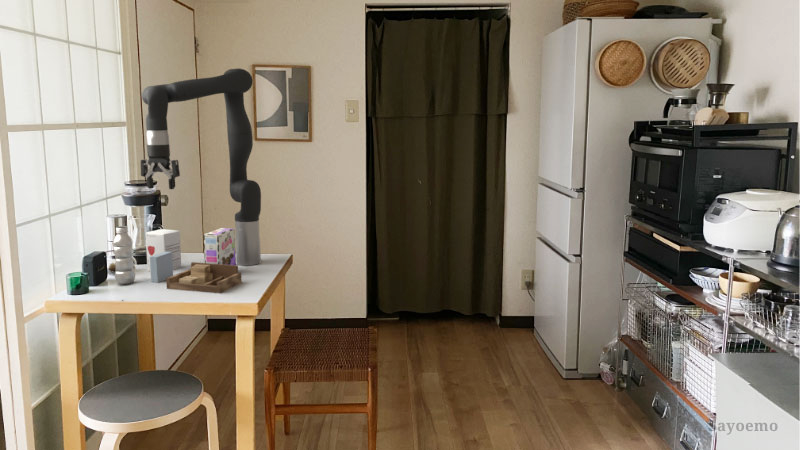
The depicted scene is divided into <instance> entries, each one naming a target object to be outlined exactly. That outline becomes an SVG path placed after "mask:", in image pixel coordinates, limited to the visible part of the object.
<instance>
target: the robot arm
mask: <svg viewBox="0 0 800 450" xmlns="http://www.w3.org/2000/svg"><path fill="white" fill-rule="evenodd" d="M253 81H254V80H253V76H252V75H251V73H250V72H249V71H247V70H246V69H243V68H231V69H228V70H226V71H225V72H224V73H223V74H221V75H217V76H212V77H202V78H193V79H192V78H191V79H185V80H180V81H175V82H171V83H166V84H165V83H164V84H156V85H149V86H147V87H145V88H144V89H143V90H142V92H141V100H142V102H143V103H144V104H145V105H147V109H148V110H147V114H146V116H145V127H146V129H145V130H146V136H145V137H146V151H147V157H148V159H146V158H145V159H141V160H140V176H141V177H143V178H145V179H146V186H147V188H148V189H149V190H152V189H154V178H153V176H154V174H156V173H157V172H158V173H164V174H165V175H166V177H168V189H169V190H175V188H176V178H178V177H180V176H181V175H180V174H181V171H180V166H179V165H180V164H179V160H178V159H173V160H171V157H170V156H171V150H170V149H171V147H170V136H169V130H168V109H169V104H170V103H180V102H187V101H191V100H196V99H201V98H204V97H208V96H214V95H219V94H223V97H224V101H225V114H226V116H225V117H226V127H227V130H226V131H227V143H228V152H229V153H228V156H229V195H230V197H231V199H232V200H233V201H234V202H236V203H240V209H239V211H237V212H236V213H235V214H234V231H235V255H236V265H238V266H254V265H258V264H260V263H261V259H262V258H261V238H260V215H261V210H262V192H261V187H260V185H259V183H258V181H257V182H256V181H255V180H252V179H248V173H247V172H248V171H247V168H248V166H247V165H248V162H249V159H250V156H251V153H252V152H253V145H254V141H253V129H252V124H251V121H250V119H249V117H248V113H247V111H246V107H245V102H244V100H245V99H244V93H246V92H248V91H249V90H250V89H251V88H252V86H253Z"/></svg>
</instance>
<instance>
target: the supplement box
mask: <svg viewBox="0 0 800 450" xmlns="http://www.w3.org/2000/svg"><path fill="white" fill-rule="evenodd" d="M145 247H146V265H147V266H146V267H147V272H151V267H150V257H151V256H154V255H157V254H160V253H163V252H172V264H173V271H175V270H178V269H181V268H182V255H181V249H182V248H181V231H180V230H175V229H167V228H166V229H165V228H160V229H156V230H151V231H146V232H145Z"/></svg>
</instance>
